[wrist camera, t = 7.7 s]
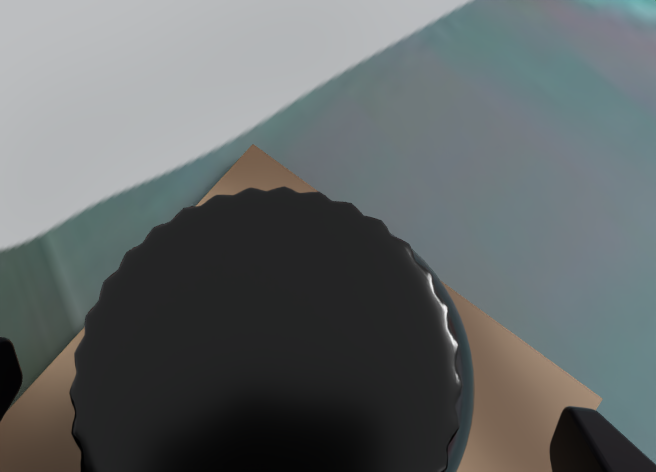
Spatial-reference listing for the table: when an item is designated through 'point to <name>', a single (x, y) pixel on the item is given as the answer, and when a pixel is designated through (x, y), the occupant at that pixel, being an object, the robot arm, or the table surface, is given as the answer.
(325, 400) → the supplement bottle
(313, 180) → the table surface
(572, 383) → the board
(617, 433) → the robot arm
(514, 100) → the table surface
